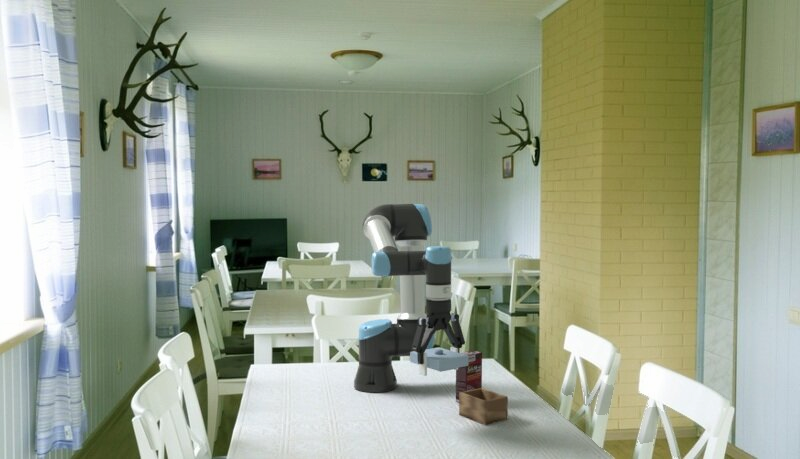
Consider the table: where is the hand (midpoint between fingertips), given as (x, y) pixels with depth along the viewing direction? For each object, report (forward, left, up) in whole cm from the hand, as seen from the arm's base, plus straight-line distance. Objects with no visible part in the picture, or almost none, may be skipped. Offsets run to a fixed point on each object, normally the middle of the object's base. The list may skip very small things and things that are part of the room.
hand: (438, 371), depth 214 cm
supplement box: (-12, +22, -16) cm, 30 cm away
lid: (0, 0, +1) cm, 1 cm away
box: (+4, +14, -15) cm, 21 cm away
